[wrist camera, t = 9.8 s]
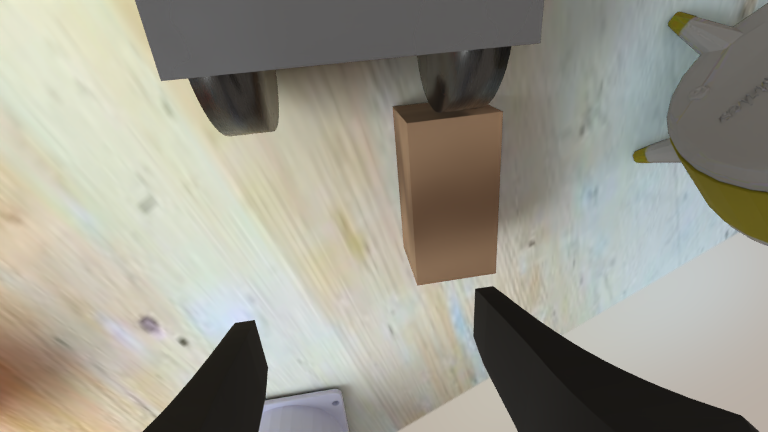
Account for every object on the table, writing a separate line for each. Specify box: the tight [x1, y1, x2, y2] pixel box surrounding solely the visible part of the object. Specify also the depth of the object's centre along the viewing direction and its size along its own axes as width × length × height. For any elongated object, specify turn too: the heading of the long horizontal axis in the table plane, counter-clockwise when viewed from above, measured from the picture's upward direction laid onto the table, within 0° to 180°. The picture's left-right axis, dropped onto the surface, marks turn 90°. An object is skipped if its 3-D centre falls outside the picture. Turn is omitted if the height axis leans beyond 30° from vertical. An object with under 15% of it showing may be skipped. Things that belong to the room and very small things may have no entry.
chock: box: [393, 102, 503, 285], centre depth 19 cm, size 8×4×4 cm, turn 5°
